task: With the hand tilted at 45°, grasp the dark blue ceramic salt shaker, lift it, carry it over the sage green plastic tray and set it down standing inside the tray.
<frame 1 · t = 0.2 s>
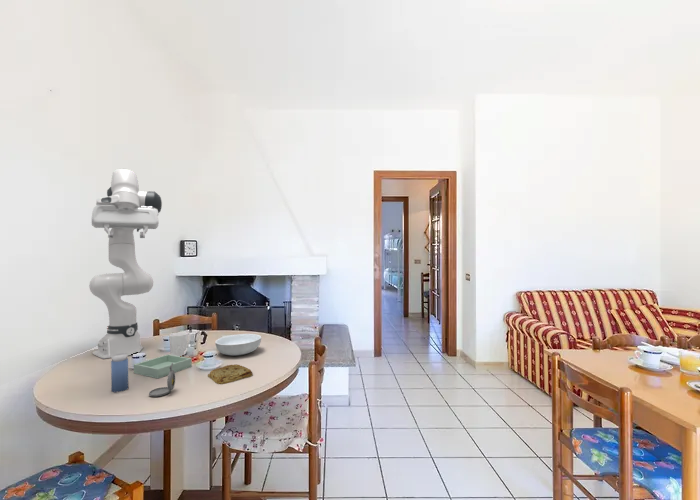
hand: (126, 237, 122), 54 cm above the table, tool tilted 30°, fingers open, 8 cm apart
pocket watch: (163, 394, 118), on the table
tray: (163, 369, 142), on the table
white cup: (178, 355, 163), on the table
serving bowl: (238, 353, 165), on the table
pastry: (230, 377, 134), on the table
shaker: (120, 389, 122), on the table
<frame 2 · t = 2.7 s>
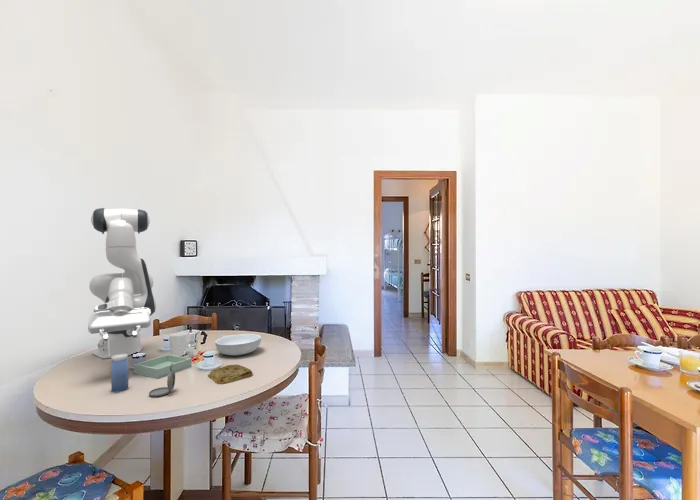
hand: (120, 338, 131), 16 cm above the table, tool tilted 45°, fingers open, 8 cm apart
nothing on the table moved.
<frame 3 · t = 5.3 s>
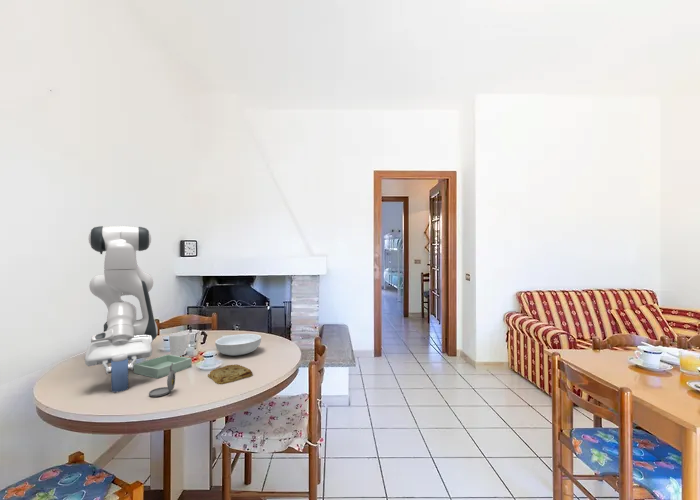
hand: (119, 371, 122), 7 cm above the table, tool tilted 45°, fingers closed on shaker, 5 cm apart
shaker: (120, 389, 122), on the table, touching gripper
everything else where it was.
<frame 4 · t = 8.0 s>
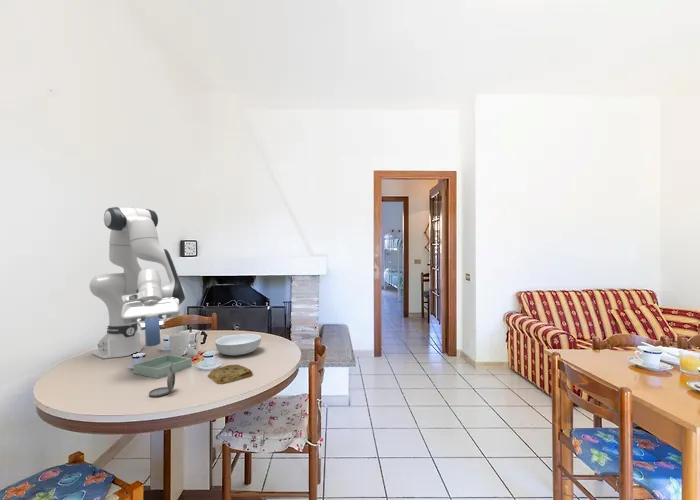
hand: (152, 327, 134), 19 cm above the table, tool tilted 45°, fingers closed on shaker, 5 cm apart
shaker: (153, 344, 134), point 13 cm above the table, touching gripper
everything else where it was.
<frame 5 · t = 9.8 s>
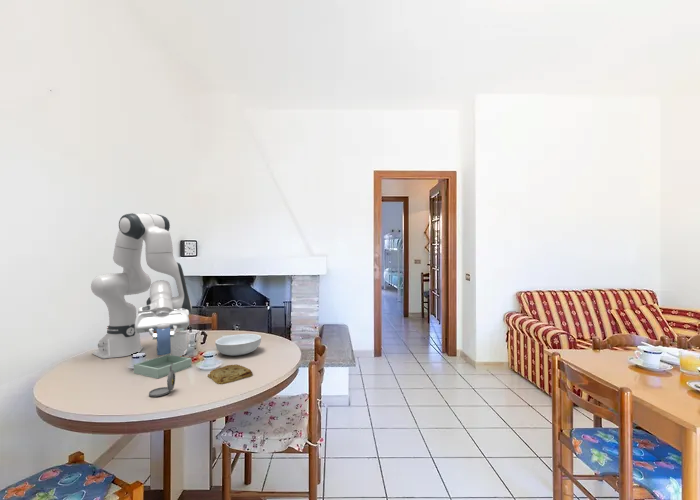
hand: (163, 337, 141), 14 cm above the table, tool tilted 45°, fingers closed on shaker, 5 cm apart
shaker: (164, 353, 142), point 7 cm above the table, touching gripper
everything else where it was.
when the fingers open (9 cm above the table, at t = 11.0 s): shaker drops 1 cm, resting on tray.
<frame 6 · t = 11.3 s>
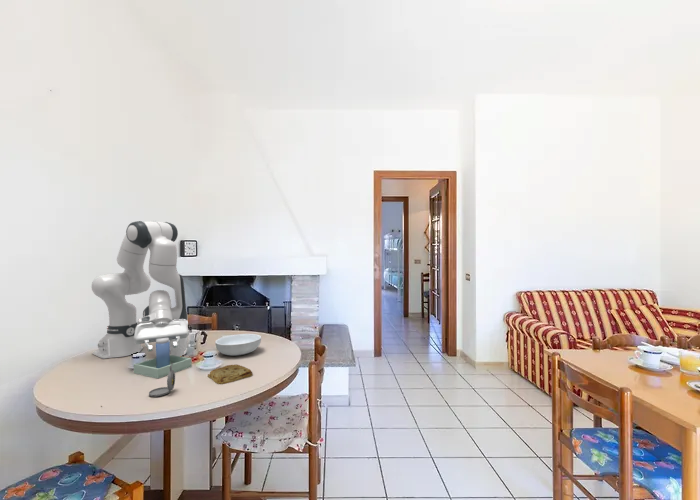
hand: (163, 348, 142), 9 cm above the table, tool tilted 45°, fingers open, 8 cm apart
shaker: (163, 367, 142), point 1 cm above the table, touching tray
everything else where it was.
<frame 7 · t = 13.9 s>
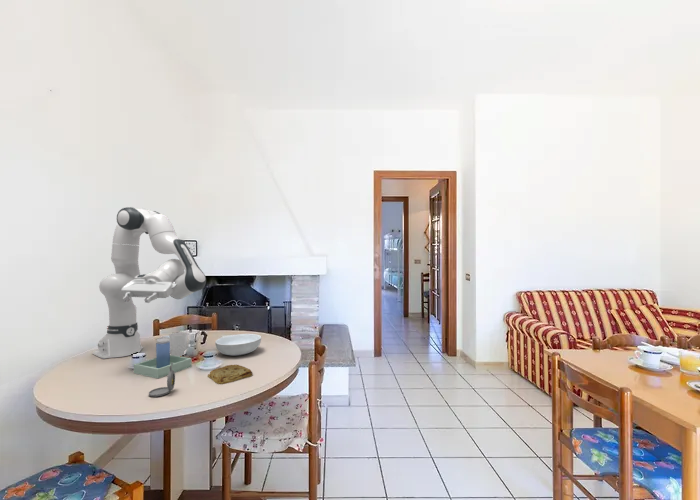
hand: (135, 300, 137), 29 cm above the table, tool tilted 65°, fingers open, 8 cm apart
nothing on the table moved.
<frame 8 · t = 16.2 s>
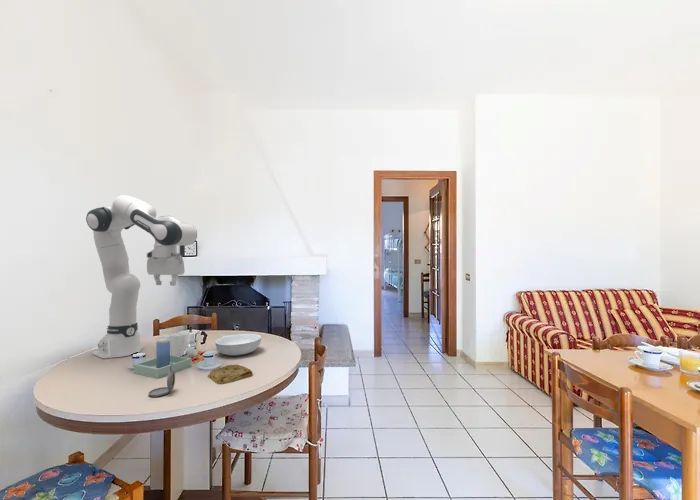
hand: (165, 285, 150), 34 cm above the table, tool pointing down, fingers open, 8 cm apart
nothing on the table moved.
at the end: shaker inside the target area on the tray (0.1 cm from its centre), point 0.9 cm above the tray's base; shaker tilted 1°; the gripper is holding nothing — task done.
